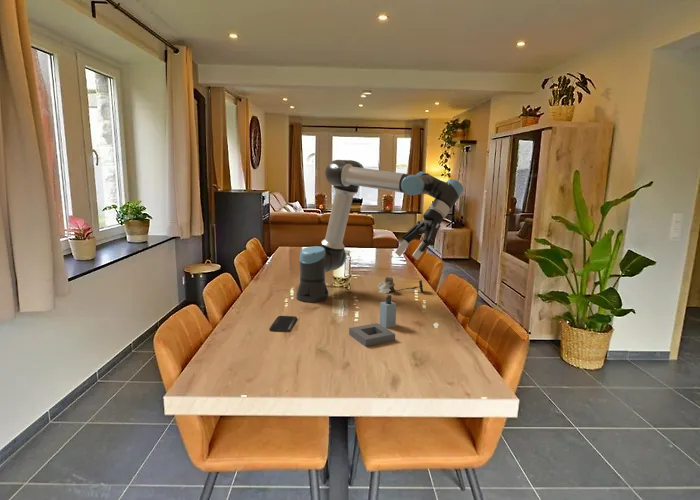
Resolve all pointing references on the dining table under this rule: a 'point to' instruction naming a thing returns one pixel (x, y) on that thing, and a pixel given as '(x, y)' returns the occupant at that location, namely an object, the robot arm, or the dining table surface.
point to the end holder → (367, 340)
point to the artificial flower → (389, 284)
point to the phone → (283, 323)
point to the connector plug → (388, 313)
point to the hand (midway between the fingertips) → (405, 256)
